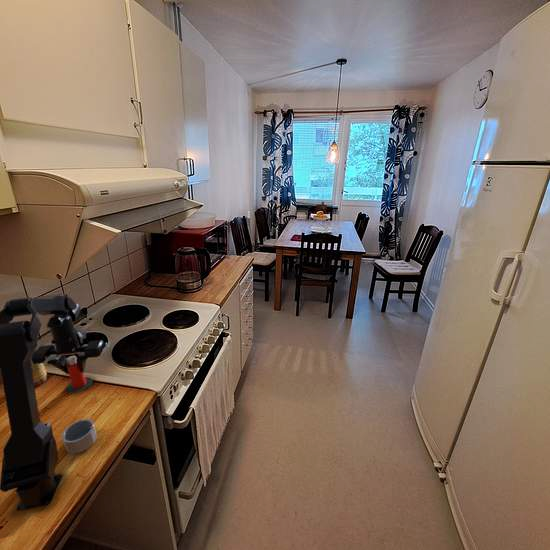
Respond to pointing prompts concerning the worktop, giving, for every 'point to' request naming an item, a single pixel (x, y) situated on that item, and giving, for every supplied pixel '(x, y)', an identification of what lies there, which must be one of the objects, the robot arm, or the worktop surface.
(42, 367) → the sauce bottle
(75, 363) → the ketchup
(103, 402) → the worktop surface
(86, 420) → the short metal can
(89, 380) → the coaster
